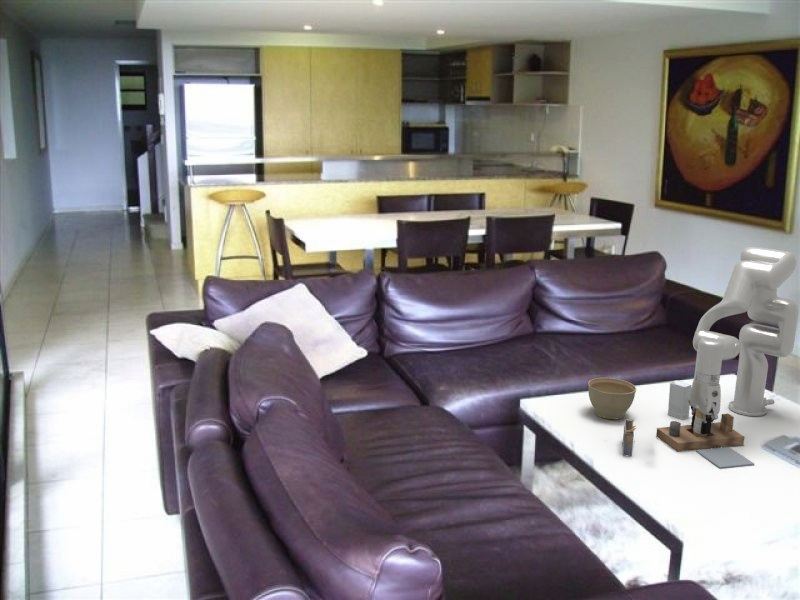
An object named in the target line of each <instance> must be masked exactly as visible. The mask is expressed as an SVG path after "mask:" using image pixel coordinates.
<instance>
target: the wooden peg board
mask: <svg viewBox="0 0 800 600" xmlns="http://www.w3.org/2000/svg"><path fill="white" fill-rule="evenodd" d="M734 421H735V417H734V416H733V415H732V414H730V413H721V418H720V422H719V421H718V422H713V423H711V431H710V434H707V436H706V437H696V436H695V435H693V428H692V427H691V424H687V425H682V424H681V422H680V421H676V420H671V421H670V423H669V426H663V427H662V426H661V427H657V428H656V437H657V439H659V440H661V441H662V443H664V444H665V445H667V446H668V447H670V448H671V449H672V450H673V451H675V452H676V453H681V452H690V451H691V452H692V451H696V450H704V449H711V448H713V449H714V448H721V447H723V448H724V447H730V448H732V447H742V446H744V445H745V444H744V443H745V439H746V438H745V436H744V435H743V434H741V433H739V432H738V431H736V430H735V429H733V428H734Z"/></svg>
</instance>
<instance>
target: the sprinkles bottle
mask: <svg viewBox="0 0 800 600" xmlns="http://www.w3.org/2000/svg"><path fill="white" fill-rule="evenodd" d="M696 407H697V408H696V414H695V421H694V428H693V435H695V436H696V437H706V436H707V434H701V425H702V422H703V413H702V412H701V411H699V407H698V405H696ZM709 412H710V411H709ZM708 417H709V415H707V418H708Z"/></svg>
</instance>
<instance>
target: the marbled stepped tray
mask: <svg viewBox="0 0 800 600" xmlns="http://www.w3.org/2000/svg"><path fill="white" fill-rule="evenodd" d="M623 425H624V426H623V435H622V456H626V455H628V457H632V455H633V447H634V446H633V445H634V437H635V434H634V432H635V430H636V429H637V428H636V427H637V426H636V425H634V420H631V419H624V424H623Z"/></svg>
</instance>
